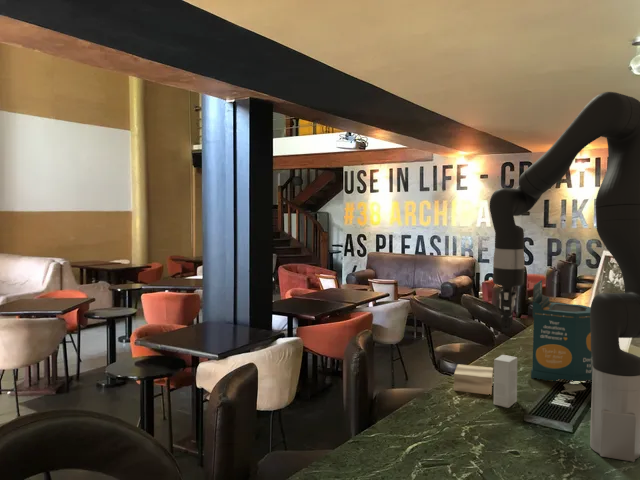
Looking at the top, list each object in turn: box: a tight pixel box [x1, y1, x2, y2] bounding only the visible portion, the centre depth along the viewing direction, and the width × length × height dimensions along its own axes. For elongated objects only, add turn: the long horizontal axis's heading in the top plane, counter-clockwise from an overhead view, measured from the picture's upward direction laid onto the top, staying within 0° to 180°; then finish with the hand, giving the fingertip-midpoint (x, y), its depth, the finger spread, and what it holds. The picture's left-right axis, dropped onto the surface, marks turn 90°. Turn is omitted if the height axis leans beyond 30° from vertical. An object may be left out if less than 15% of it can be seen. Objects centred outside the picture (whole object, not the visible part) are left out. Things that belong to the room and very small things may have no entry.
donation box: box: [530, 280, 593, 382], centre depth 161 cm, size 16×16×28 cm
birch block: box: [453, 363, 494, 396], centre depth 151 cm, size 10×10×5 cm
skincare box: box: [493, 354, 518, 408], centre depth 138 cm, size 6×4×12 cm
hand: (507, 328), depth 137 cm, fingers open, 8 cm apart
